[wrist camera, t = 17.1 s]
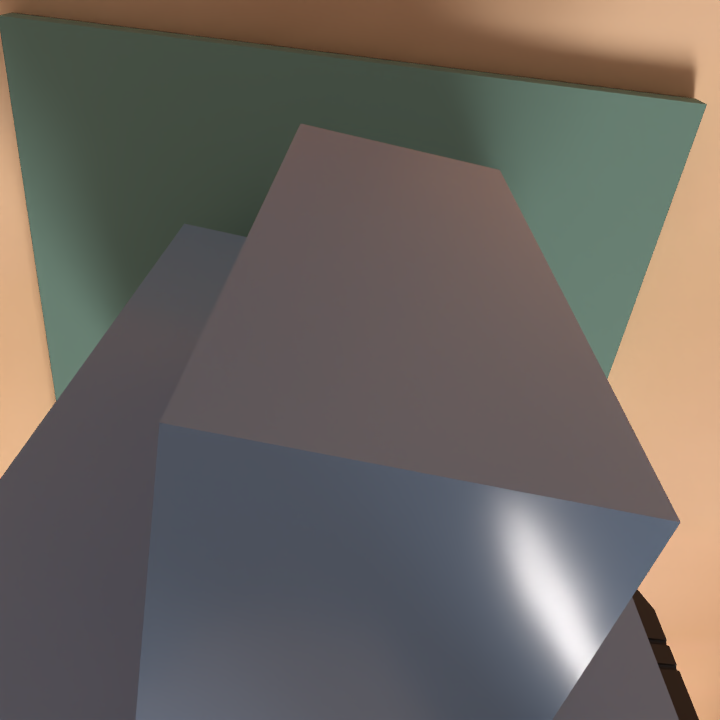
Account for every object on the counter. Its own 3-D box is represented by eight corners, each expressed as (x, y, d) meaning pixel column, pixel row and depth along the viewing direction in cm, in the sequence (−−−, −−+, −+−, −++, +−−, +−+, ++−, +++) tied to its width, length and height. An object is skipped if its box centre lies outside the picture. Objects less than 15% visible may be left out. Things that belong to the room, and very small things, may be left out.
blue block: (581, 128, 12) (1192, 693, 3) (417, 558, 18) (451, 1197, 9) (200, 36, 12) (-512, 385, 2) (158, 511, 18) (-94, 1145, 8)
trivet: (12, 12, 14) (-2, 15, 13) (694, 98, 14) (706, 104, 14) (83, 517, 21) (76, 532, 20) (530, 563, 21) (534, 579, 21)
